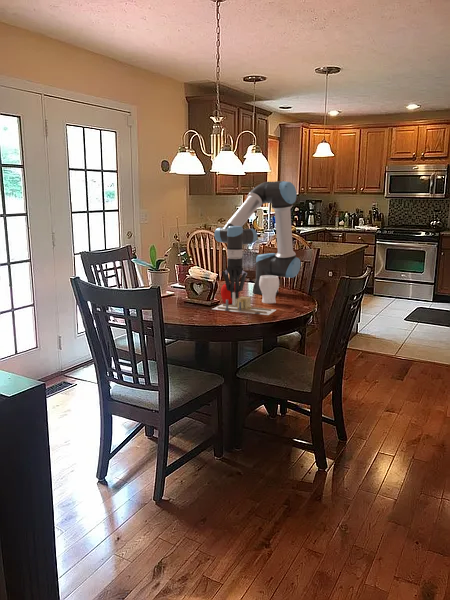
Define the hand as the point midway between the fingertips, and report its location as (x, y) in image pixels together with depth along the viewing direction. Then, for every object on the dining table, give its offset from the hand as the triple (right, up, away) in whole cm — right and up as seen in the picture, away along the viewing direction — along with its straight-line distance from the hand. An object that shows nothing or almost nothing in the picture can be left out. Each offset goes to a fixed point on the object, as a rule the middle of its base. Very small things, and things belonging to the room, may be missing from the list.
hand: (234, 304), depth 252 cm
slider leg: (+4, -3, -3) cm, 6 cm away
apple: (-2, -1, +15) cm, 15 cm away
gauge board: (+5, -4, -1) cm, 6 cm away
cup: (+18, 0, +16) cm, 25 cm away
